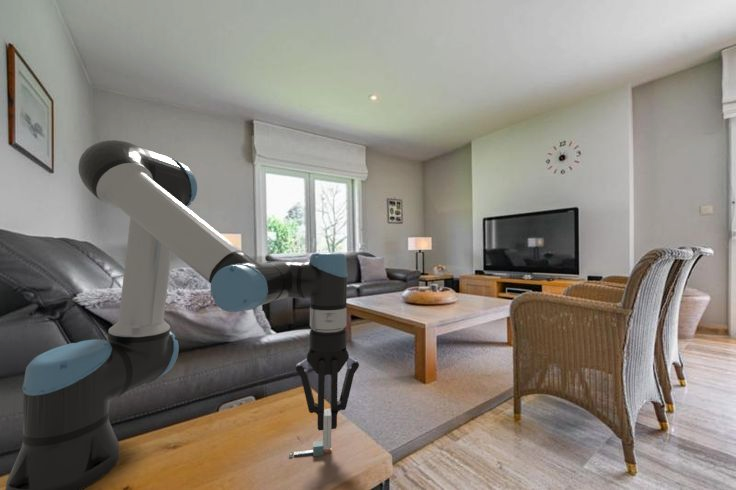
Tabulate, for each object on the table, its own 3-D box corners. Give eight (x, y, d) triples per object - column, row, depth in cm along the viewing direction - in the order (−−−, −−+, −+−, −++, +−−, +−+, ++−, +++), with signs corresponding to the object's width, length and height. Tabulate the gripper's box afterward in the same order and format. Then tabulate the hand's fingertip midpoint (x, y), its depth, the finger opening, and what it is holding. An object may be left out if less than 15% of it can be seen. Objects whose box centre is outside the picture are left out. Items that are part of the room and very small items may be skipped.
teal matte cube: (313, 462, 61) (313, 447, 61) (312, 457, 62) (313, 441, 62) (323, 461, 61) (323, 445, 61) (322, 455, 63) (322, 440, 63)
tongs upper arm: (289, 459, 60) (289, 455, 60) (289, 455, 61) (289, 452, 61) (331, 453, 62) (331, 450, 62) (331, 450, 63) (331, 446, 63)
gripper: (294, 334, 58) (292, 460, 57) (362, 331, 60) (361, 452, 60) (296, 324, 65) (294, 436, 65) (357, 322, 68) (356, 430, 67)
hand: (326, 444), depth 62 cm, fingers closed
